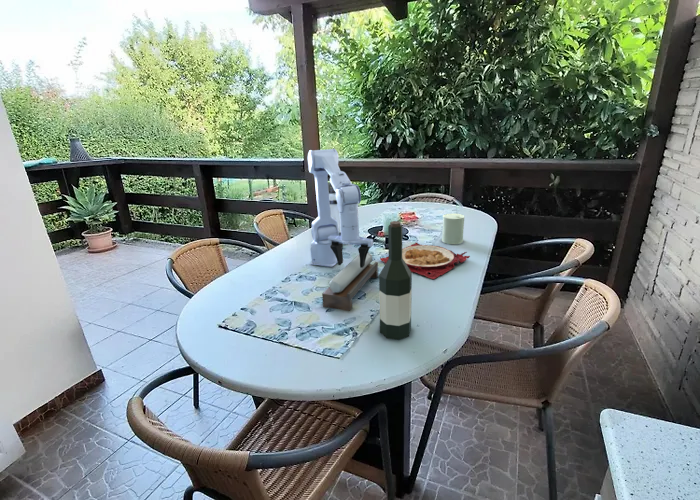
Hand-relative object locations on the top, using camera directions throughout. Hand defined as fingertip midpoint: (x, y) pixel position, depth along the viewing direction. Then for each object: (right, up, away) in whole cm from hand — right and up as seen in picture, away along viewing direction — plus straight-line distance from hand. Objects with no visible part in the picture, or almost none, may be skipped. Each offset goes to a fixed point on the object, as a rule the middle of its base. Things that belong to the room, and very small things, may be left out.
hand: (351, 265), depth 118 cm
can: (+45, +9, +45) cm, 64 cm away
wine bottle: (+12, -17, -21) cm, 29 cm away
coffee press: (-6, +8, +49) cm, 50 cm away
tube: (0, -5, +1) cm, 5 cm away
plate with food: (+28, 0, +24) cm, 37 cm away
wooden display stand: (0, -9, +3) cm, 9 cm away
